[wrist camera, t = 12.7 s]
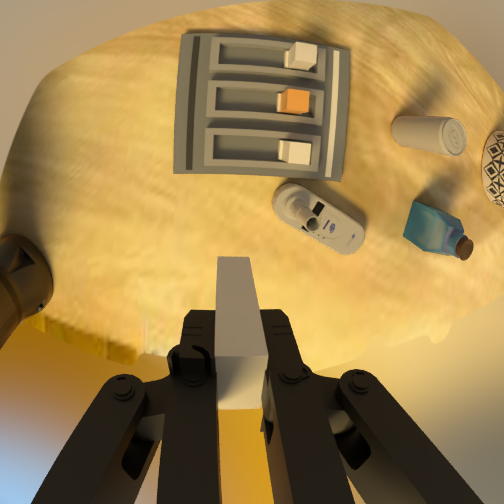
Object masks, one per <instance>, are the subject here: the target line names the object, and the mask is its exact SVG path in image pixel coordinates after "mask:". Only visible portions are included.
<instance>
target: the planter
mask: <svg viewBox="0 0 504 504" xmlns="http://www.w3.org/2000/svg"><path fill="white" fill-rule="evenodd" d="M482 180H483V185H484V189H485V192H486V194H487V196H488V198H489V199H490V201H492V202H493V203H495V204H497V205H499V206H501V207H503V208H504V131H495V132H494V133H493V134H491V136H490V137H489V138H488V140H487V142H486V145H485V148H484V152H483V158H482Z"/></svg>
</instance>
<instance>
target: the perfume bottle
mask: <svg viewBox="0 0 504 504" xmlns="http://www.w3.org/2000/svg"><path fill="white" fill-rule="evenodd" d="M463 233H464V229H463V226H462V224H461V221H460V220H459V219H457V218H456V217H454V216H452V215H450V214H448V213H446V212H444V211H442V210H440V209H438V208H435V207H432V206H429V205H425V204H422V203H419V202H416V201H413V203H412V206H411V210H410V213H409V217H408V220H407V224H406V227H405V230H404V233H403V237H405V238H406V239H408V240H409V241H411V242H412V243H413V244H415V245H416V246H417V247H419V248H420V249H422V250H423V251H427V252H432V253H437V254H442V255H454V256H455V257H457V258H460V259H461V260H467V259H468V258H469V257H470V255H471V253H472V251H473V242H472V240H470V239H468V237H467V236H465V235H464V234H463Z"/></svg>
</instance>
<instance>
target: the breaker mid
mask: <svg viewBox="0 0 504 504" xmlns="http://www.w3.org/2000/svg"><path fill="white" fill-rule="evenodd" d="M309 93H310V92H309V91H303V90H295V89H287V90H285V91H284V92H282V93H281V94H280V93H278V94H277V103H276V112H278V113H287V114H296V115H301V114H302V113H306V112H308V109H309Z"/></svg>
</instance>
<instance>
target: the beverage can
mask: <svg viewBox="0 0 504 504" xmlns="http://www.w3.org/2000/svg"><path fill="white" fill-rule="evenodd" d="M391 133H392V137H393V139H394V140H395V142H396V143H398V144H399V145H401V146H403V147H408V148H414V149H419V150H425V151H429V152H434V153H438V154H443V155H447V156H452V157H453V156H460V155H461V154H462V153H463V152H464V150H465V148H466V144H467V136H466V131H465V128H464V127H463V125H462V124H461V122H460V121H458V120H457V119H454V118H451V117H436V116H399V117H397V118H396V119H395V120H394V121H393V123H392V126H391Z"/></svg>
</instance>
